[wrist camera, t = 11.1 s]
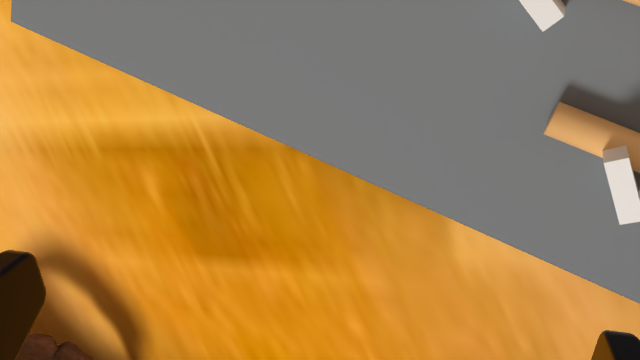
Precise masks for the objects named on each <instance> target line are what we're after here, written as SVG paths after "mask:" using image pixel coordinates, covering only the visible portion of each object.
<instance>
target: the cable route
mask: <svg viewBox="0 0 640 360" xmlns="http://www.w3.org/2000/svg"><path fill="white" fill-rule="evenodd" d="M519 1H520V2H521V4H522V5H523V6H524V8H525V9H526V10H527V12H528V13H529V14H530V16H531V17H532V18H533V20H534V21H535V22H536V24H537V25H538V26H539V28H540V29H541V30H542V32H543V31H545V30H546V29H548V28H549V27H550V26H552V25H553V24H555V23H556V22H557V21H559V20H560V19H561V18H563V17H564V15H565V9H566V6H565V5H564V3H563V2H562V0H519ZM622 1H625V2H628V3H631V4H634V5H637V6H640V0H622ZM544 135H547V136H549V137H552V138H554V139H557V140H559V141H562V142H564V143H567V144H569V145H572V146H574V147H577V148H579V149H581V150H584V151H586V152H589V153H591V154H594V155H596V156H599V157H601V158H603V162H604V167H605V171H606V174H607V178H608V182H609V186H610V190H611V194H612V197H613V201H614V205H615V209H616V213H617V217H618V220H619V224H620V225H622V224H628V223H634V222H640V197H639V192H638V188H637V184H636V180H635V176H634V172H633V171H636V172H638V173H640V133H639V132H636V131H634V130H631V129H628V128H626V127H623V126H621V125H618V124H616V123H613V122H611V121H608V120H605V119H603V118H600V117H598V116H595V115H593V114H590V113H588V112H585V111H582V110H580V109H577V108H575V107H572V106H570V105H567V104H565V103H562V102H558V104H557V105H556V107H555V109H554V111H553V113H552V114H551V117H550V119H549V121H548V123H547V125H546V128H545V130H544Z"/></svg>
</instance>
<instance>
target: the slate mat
mask: <svg viewBox="0 0 640 360" xmlns="http://www.w3.org/2000/svg"><path fill="white" fill-rule="evenodd" d="M562 2H563V3H564V5H565V6H566V9H565V15H564V17H563V18H561V19H560V20H559V21H557V22H556V23H555V24H553V25H552V26H550V27H549V28H548V29H546V30H545V31H543V32H542V30H541V29H540V28H539V26H538V25H537V24H536V22H535V21H534V20H533V18H532V17H531V16H530V14H529V13H528V12H527V10H526V9H525V8H524V6H523V5H522V4H521V2H520V1H519V0H12V7H11V22H13V23H16V24H18V25H20V26H22V27H25V28H27V29H29V30H31V31H33V32H36V33H38V34H40V35H42V36H45V37H47V38H49V39H51V40H53V41H56V42H58V43H60V44H62V45H65V46H67V47H69V48H71V49H74V50H76V51H78V52H80V53H82V54H85V55H87V56H89V57H91V58H94V59H96V60H98V61H100V62H103V63H105V64H107V65H109V66H111V67H114V68H116V69H118V70H120V71H123V72H125V73H127V74H129V75H131V76H134V77H136V78H138V79H140V80H143V81H145V82H147V83H149V84H152V85H154V86H156V87H158V88H160V89H163V90H165V91H167V92H169V93H172V94H174V95H176V96H178V97H181V98H183V99H185V100H187V101H189V102H192V103H194V104H196V105H198V106H201V107H203V108H205V109H207V110H209V111H212V112H214V113H216V114H218V115H221V116H223V117H225V118H227V119H230V120H232V121H234V122H236V123H238V124H241V125H243V126H245V127H247V128H250V129H252V130H254V131H256V132H258V133H261V134H263V135H265V136H267V137H270V138H272V139H274V140H276V141H279V142H281V143H283V144H285V145H287V146H290V147H292V148H294V149H296V150H299V151H301V152H303V153H305V154H308V155H310V156H312V157H314V158H316V159H319V160H321V161H323V162H325V163H328V164H330V165H332V166H334V167H336V168H339V169H341V170H343V171H345V172H348V173H350V174H352V175H354V176H357V177H359V178H361V179H363V180H365V181H368V182H370V183H372V184H374V185H377V186H379V187H381V188H383V189H386V190H388V191H390V192H392V193H394V194H397V195H399V196H401V197H403V198H406V199H408V200H410V201H412V202H414V203H417V204H419V205H421V206H423V207H426V208H428V209H430V210H432V211H435V212H437V213H439V214H441V215H443V216H446V217H448V218H450V219H452V220H455V221H457V222H459V223H461V224H464V225H466V226H468V227H470V228H472V229H475V230H477V231H479V232H481V233H484V234H486V235H488V236H490V237H492V238H495V239H497V240H499V241H501V242H504V243H506V244H508V245H510V246H513V247H515V248H517V249H519V250H521V251H524V252H526V253H528V254H530V255H533V256H535V257H537V258H539V259H542V260H544V261H546V262H548V263H550V264H553V265H555V266H557V267H559V268H562V269H564V270H566V271H568V272H570V273H573V274H575V275H577V276H579V277H582V278H584V279H586V280H588V281H591V282H593V283H595V284H597V285H599V286H602V287H604V288H606V289H608V290H611V291H613V292H615V293H617V294H620V295H622V296H624V297H626V298H628V299H631V300H633V301H635V302H637V303H640V222H634V223H628V224H622V225H620V224H619V220H618V217H617V213H616V209H615V205H614V201H613V197H612V194H611V190H610V186H609V182H608V178H607V174H606V171H605V167H604V162H603V158H601V157H599V156H596V155H594V154H591V153H589V152H586V151H584V150H581V149H579V148H577V147H574V146H572V145H569V144H567V143H564V142H562V141H559V140H557V139H554V138H552V137H549V136H547V135H544V130H545V128H546V125H547V123H548V121H549V119H550V117H551V114H552V113H553V111H554V109H555V107H556V105H557V104H558V102H562V103H565V104H567V105H570V106H572V107H575V108H577V109H580V110H582V111H585V112H588V113H590V114H593V115H595V116H598V117H600V118H603V119H605V120H608V121H611V122H613V123H616V124H618V125H621V126H623V127H626V128H628V129H631V130H634V131H636V132H639V133H640V6H637V5H634V4H631V3H628V2H625V1H622V0H562ZM633 172H634V176H635V180H636V184H637V188H638V192H639V197H640V173H638V172H636V171H633Z"/></svg>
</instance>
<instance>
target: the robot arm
mask: <svg viewBox="0 0 640 360" xmlns="http://www.w3.org/2000/svg"><path fill="white" fill-rule="evenodd" d="M45 296H46V289H45V286H44V282H43V279H42V276H41V273H40V270H39V267H38V264H37V261H36V258H35V257H34V256H33V255H32V254H31V253H28V252H22V251H14V250H8V251H4V252H2V253H0V360H16V358H17V356H18V354H19V352H20V350H21V348H22V346H23V344H24V342H25V340H26V338H27V336H28V334H29V332H30V330H31V328H32V326H33V324H34V322H35V320H36V318H37V316H38V314H39V312H40V310H41V308H42V306H43V304H44V301H45ZM591 360H640V340H639V339H638V338H637V337H636V336H634V335H633V334H630V333H624V332H617V331H609V330H606V331H603V332H602V333H601V334H600V336H599V338H598V341H597V344H596V347H595V350H594V353H593V356H592V359H591Z"/></svg>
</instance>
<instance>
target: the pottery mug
mask: <svg viewBox="0 0 640 360" xmlns="http://www.w3.org/2000/svg"><path fill="white" fill-rule="evenodd" d="M16 360H94V359H93V358H92V357H91V356H89V355H88V354H86V353H85V352H83V351H82V350H81V349H79V348H78V347H77V346H76V345H75V344H73V343H71V342H64V343H62V344H61V345H59V346H57V345H56V342H55V340H54V338H53V337H51V336H46V335H41V334H28V336H27V338H26V340H25V342H24V344H23V346H22V348H21V350H20V352H19V354H18V356H17V358H16Z"/></svg>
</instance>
